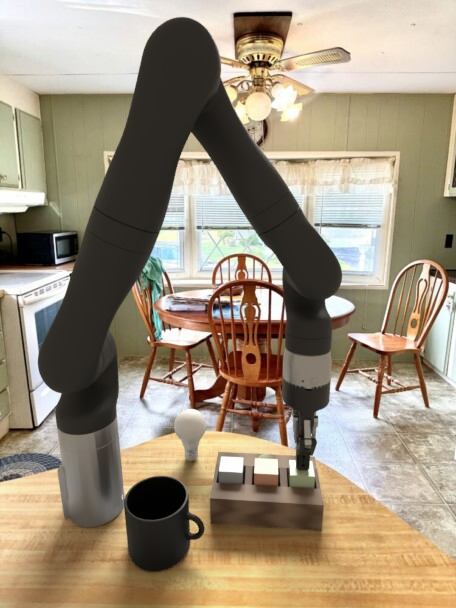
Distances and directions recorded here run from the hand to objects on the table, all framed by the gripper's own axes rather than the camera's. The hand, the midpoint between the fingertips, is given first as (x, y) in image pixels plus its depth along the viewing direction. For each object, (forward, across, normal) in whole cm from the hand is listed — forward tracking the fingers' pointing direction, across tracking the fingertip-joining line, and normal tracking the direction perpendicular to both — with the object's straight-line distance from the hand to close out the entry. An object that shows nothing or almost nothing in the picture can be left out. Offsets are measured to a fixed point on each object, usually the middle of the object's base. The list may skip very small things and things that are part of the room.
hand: (302, 467), depth 69 cm
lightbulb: (+7, -10, -21) cm, 25 cm away
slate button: (+5, 0, -12) cm, 13 cm away
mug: (+7, +11, -21) cm, 25 cm away
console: (+7, 0, -6) cm, 9 cm away
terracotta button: (+5, 0, -6) cm, 8 cm away
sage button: (+5, 0, 0) cm, 5 cm away
